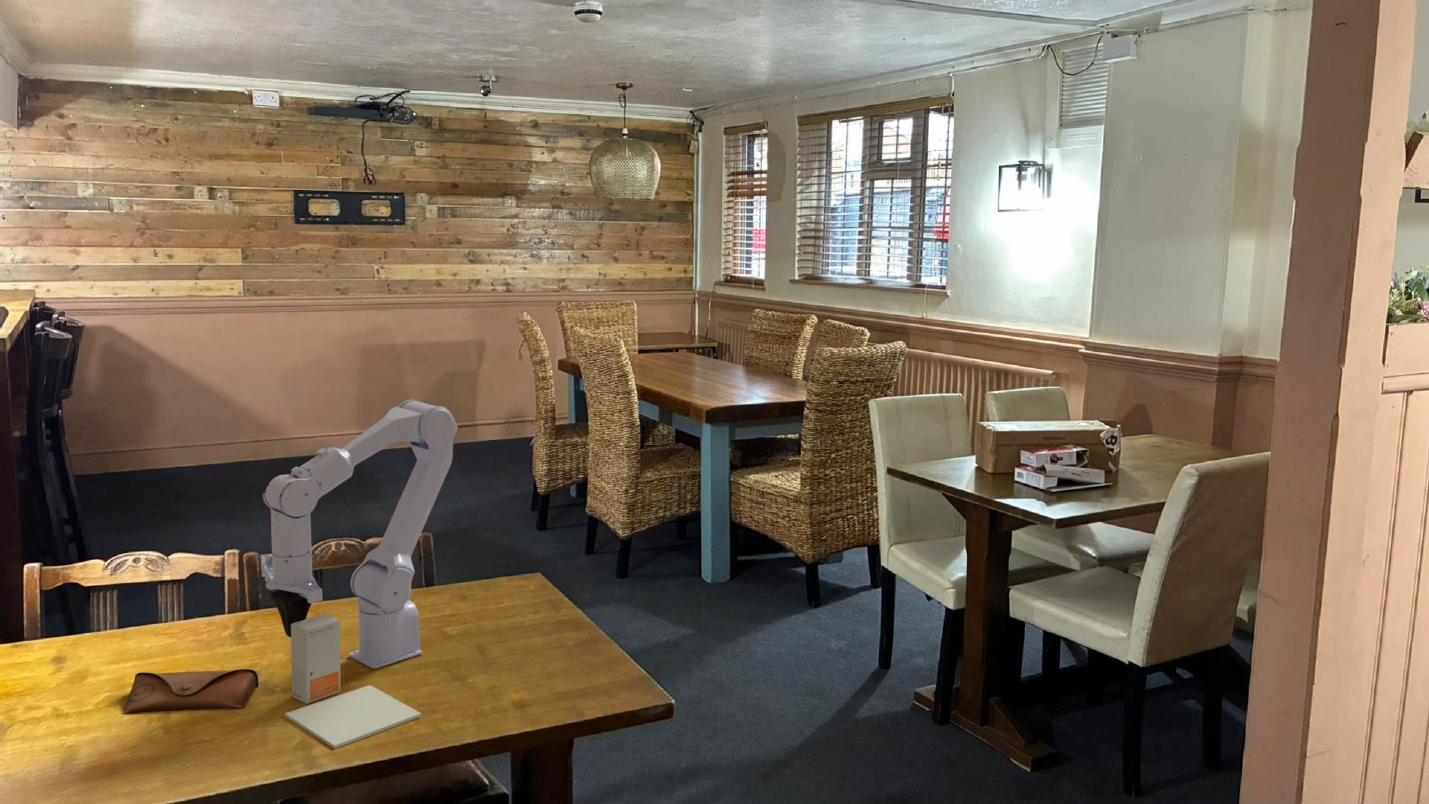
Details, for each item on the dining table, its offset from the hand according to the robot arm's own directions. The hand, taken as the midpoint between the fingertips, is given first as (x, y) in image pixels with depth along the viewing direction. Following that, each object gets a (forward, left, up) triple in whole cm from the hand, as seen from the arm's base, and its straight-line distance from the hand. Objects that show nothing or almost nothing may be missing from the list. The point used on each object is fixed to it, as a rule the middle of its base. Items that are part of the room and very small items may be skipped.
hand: (294, 634), depth 166 cm
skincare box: (0, +7, -8) cm, 11 cm away
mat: (0, +17, -8) cm, 19 cm away
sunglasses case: (+14, -5, -9) cm, 17 cm away
